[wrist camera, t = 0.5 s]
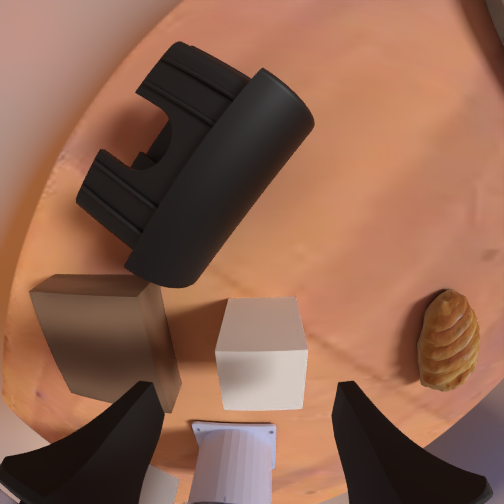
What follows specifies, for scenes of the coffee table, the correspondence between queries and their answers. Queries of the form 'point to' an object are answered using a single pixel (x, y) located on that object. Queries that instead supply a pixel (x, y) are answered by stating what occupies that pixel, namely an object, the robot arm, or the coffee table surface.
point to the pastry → (448, 342)
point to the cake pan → (497, 16)
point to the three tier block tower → (158, 487)
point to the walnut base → (108, 335)
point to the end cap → (195, 164)
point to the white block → (262, 354)
